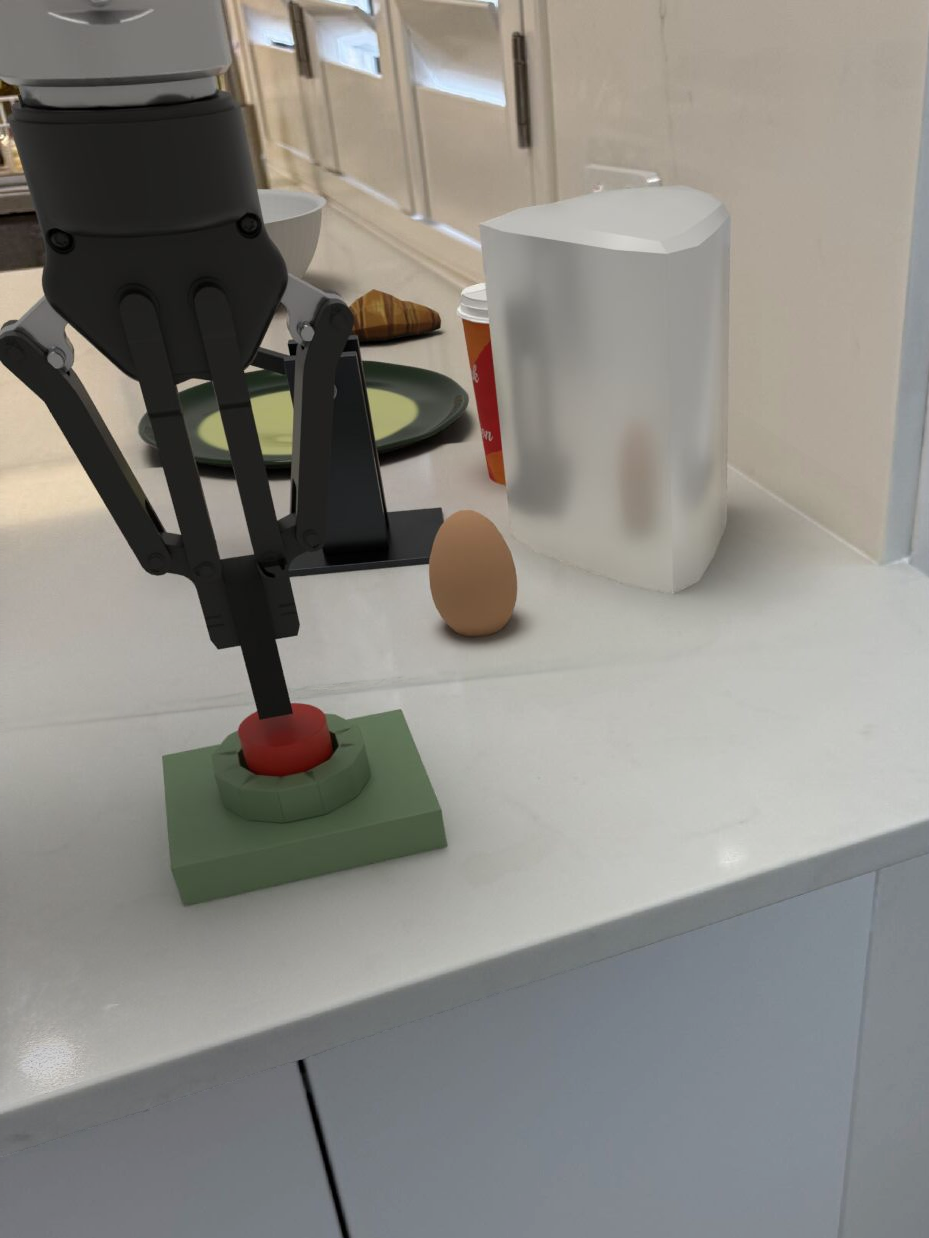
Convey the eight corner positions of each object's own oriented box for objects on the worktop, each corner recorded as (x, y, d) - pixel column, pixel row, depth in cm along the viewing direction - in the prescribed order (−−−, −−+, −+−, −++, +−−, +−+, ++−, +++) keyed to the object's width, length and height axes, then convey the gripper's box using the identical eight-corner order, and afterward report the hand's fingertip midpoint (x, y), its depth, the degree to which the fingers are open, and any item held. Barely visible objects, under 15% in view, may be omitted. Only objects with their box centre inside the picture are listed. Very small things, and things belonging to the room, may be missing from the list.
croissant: (435, 324, 135) (428, 275, 132) (450, 338, 130) (443, 288, 127) (313, 339, 131) (303, 289, 128) (324, 354, 126) (314, 302, 123)
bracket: (268, 591, 80) (215, 373, 72) (277, 539, 87) (230, 335, 79) (449, 573, 82) (419, 359, 73) (444, 523, 89) (416, 322, 80)
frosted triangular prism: (503, 550, 84) (464, 192, 71) (640, 492, 93) (629, 162, 79) (664, 610, 76) (655, 220, 63) (798, 541, 85) (816, 182, 71)
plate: (213, 387, 117) (206, 360, 116) (496, 385, 116) (493, 358, 114) (89, 491, 96) (79, 460, 94) (436, 491, 94) (432, 459, 92)
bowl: (95, 340, 133) (65, 239, 127) (122, 286, 154) (97, 197, 148) (346, 320, 137) (329, 221, 131) (339, 270, 158) (324, 183, 152)
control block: (183, 907, 54) (158, 835, 51) (173, 791, 61) (151, 723, 59) (447, 847, 57) (435, 776, 54) (407, 744, 64) (395, 677, 62)
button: (250, 787, 55) (241, 754, 54) (242, 744, 58) (233, 712, 57) (338, 768, 56) (331, 736, 55) (326, 727, 59) (319, 696, 58)
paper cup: (510, 461, 99) (491, 274, 90) (592, 473, 96) (581, 282, 87) (457, 493, 93) (431, 297, 85) (542, 507, 91) (525, 306, 82)
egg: (503, 611, 77) (489, 488, 72) (536, 643, 73) (523, 516, 68) (426, 630, 75) (406, 505, 70) (456, 664, 71) (437, 535, 66)
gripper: (-107, 112, 36) (124, 773, 51) (333, 89, 39) (430, 714, 54) (-80, 89, 42) (122, 691, 56) (303, 70, 45) (399, 642, 60)
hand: (273, 702), depth 55 cm, fingers closed
